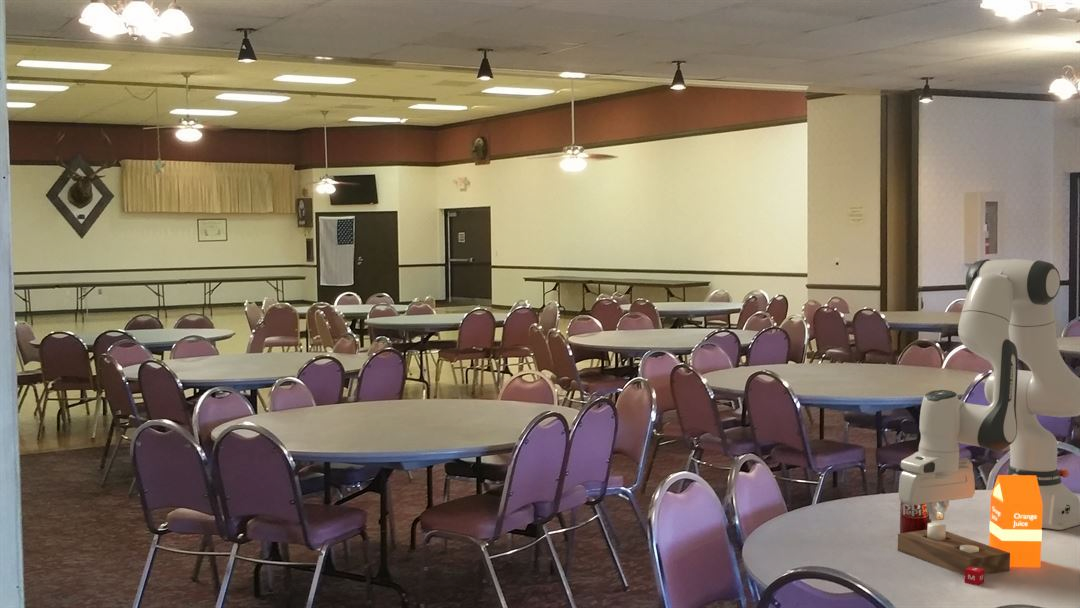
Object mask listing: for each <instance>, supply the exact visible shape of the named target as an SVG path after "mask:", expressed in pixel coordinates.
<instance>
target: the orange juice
mask: <svg viewBox="0 0 1080 608" xmlns="http://www.w3.org/2000/svg"><path fill="white" fill-rule="evenodd" d="M1042 507H1043V503H1042V499H1041V495H1040V491H1039V486H1038V482H1037V477H1036V476H1030V475H1008V474H1001V475H1000V474H998V475H997V478H996V481H995V483H994V486H993V489H992V492H991V494H990V509H989V510H990V512H989V528H988V529H989V535H988V536H989V538H988V539H989V542H988V543H989V544H988V546H991V547H994V548H997V549H1000V550H1003V551H1006V552H1009V553H1010V568H1041V561H1042V560H1041V559H1042V558H1041V557H1042V555H1041V554H1042V541H1043V540H1042V539H1043V538H1042V537H1043V536H1042V535H1043V530H1042V529H1043V528H1042Z"/></svg>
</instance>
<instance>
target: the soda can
mask: <svg viewBox="0 0 1080 608" xmlns="http://www.w3.org/2000/svg"><path fill="white" fill-rule="evenodd" d="M899 505H900V507H899V508H900V513H899V514H900V516H899V517H900V518H899V534H900V533H907V532H914V531H921V530H927V527H928V523H932V522H933V521H932V520H930V519H929V511H928V509H927V507H926V504H918V505H908V504H905V503H902V502H901V501H900V504H899Z"/></svg>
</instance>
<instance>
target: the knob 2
mask: <svg viewBox="0 0 1080 608" xmlns="http://www.w3.org/2000/svg"><path fill="white" fill-rule="evenodd" d="M960 550H962V551H965V552H968V553H973V552H979V548H978V547H976V546H973V545H961V546H960Z"/></svg>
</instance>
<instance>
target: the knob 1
mask: <svg viewBox="0 0 1080 608" xmlns="http://www.w3.org/2000/svg"><path fill="white" fill-rule="evenodd" d="M946 527H947V525H946V524H944V523H941V522H937V521H931V523H928V527H927V538H928V539H931V540H934V541H941V540H945V538H946V530H947V528H946Z"/></svg>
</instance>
